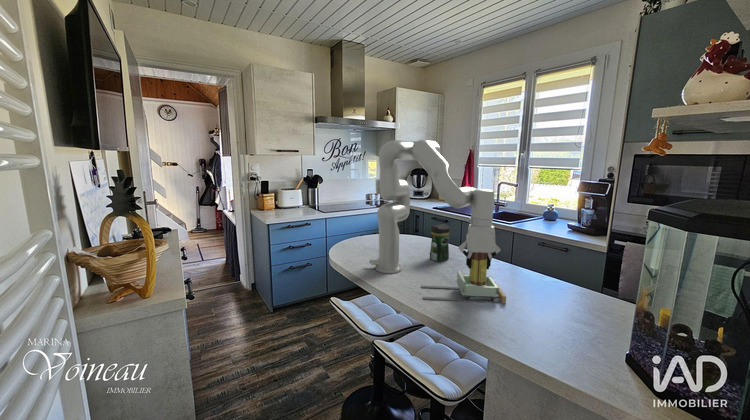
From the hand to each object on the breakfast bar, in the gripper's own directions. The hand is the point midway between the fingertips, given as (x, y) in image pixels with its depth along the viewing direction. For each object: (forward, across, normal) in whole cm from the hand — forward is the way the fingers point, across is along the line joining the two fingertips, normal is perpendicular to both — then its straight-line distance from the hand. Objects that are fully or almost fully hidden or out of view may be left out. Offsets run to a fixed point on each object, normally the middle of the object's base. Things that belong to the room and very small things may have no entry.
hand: (477, 267), depth 116 cm
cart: (+11, 0, 0) cm, 11 cm away
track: (+11, -6, 0) cm, 13 cm away
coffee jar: (+12, -9, +40) cm, 43 cm away
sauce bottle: (+7, 0, 0) cm, 7 cm away
